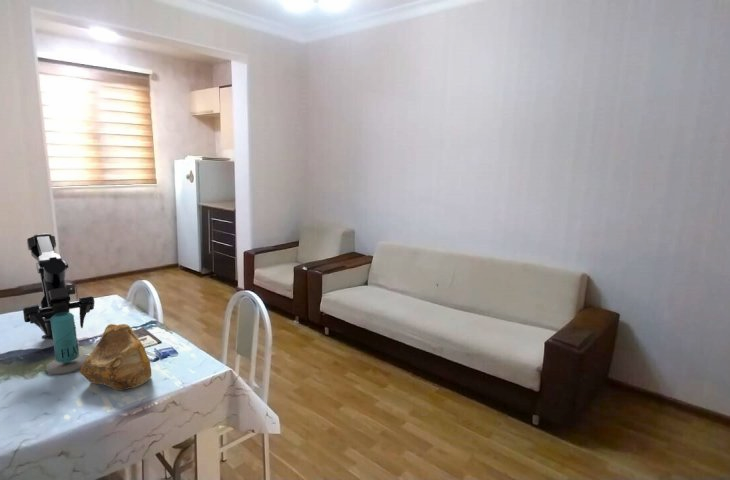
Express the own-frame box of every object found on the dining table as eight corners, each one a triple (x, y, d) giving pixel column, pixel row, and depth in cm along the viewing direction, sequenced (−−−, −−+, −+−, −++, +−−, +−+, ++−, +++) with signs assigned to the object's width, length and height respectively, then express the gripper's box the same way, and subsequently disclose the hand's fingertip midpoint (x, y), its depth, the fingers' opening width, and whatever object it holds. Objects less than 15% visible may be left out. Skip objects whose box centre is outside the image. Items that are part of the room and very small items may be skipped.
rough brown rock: (76, 376, 131) (66, 333, 127) (134, 356, 142) (126, 315, 138) (95, 411, 115) (84, 363, 111) (158, 384, 126) (150, 340, 122)
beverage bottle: (60, 369, 131) (51, 309, 127) (52, 363, 135) (44, 304, 131) (83, 361, 136) (76, 303, 133) (75, 355, 140) (68, 299, 136)
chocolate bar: (143, 327, 166) (161, 341, 154) (143, 329, 166) (161, 343, 154) (118, 334, 159) (135, 349, 147) (118, 336, 160) (135, 351, 148)
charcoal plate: (36, 373, 131) (36, 369, 131) (68, 355, 143) (68, 352, 142) (70, 376, 129) (69, 373, 129) (100, 358, 141) (99, 355, 141)
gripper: (18, 282, 128) (26, 327, 122) (90, 272, 141) (100, 312, 135) (20, 300, 136) (28, 343, 130) (88, 289, 148) (98, 328, 142)
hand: (64, 331), depth 134 cm, fingers open, 9 cm apart
